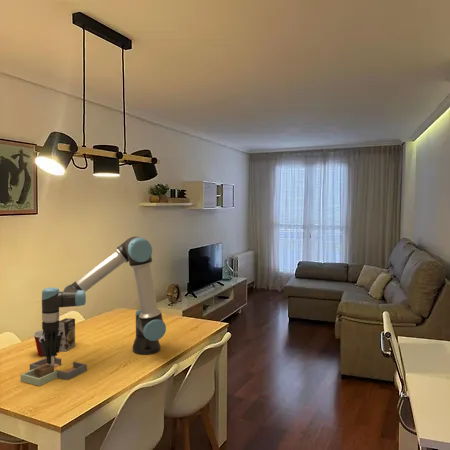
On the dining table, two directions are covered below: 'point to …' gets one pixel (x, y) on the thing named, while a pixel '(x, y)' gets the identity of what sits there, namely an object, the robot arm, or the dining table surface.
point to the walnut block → (43, 370)
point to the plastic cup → (38, 335)
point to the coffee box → (67, 334)
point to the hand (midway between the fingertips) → (51, 369)
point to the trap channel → (66, 375)
